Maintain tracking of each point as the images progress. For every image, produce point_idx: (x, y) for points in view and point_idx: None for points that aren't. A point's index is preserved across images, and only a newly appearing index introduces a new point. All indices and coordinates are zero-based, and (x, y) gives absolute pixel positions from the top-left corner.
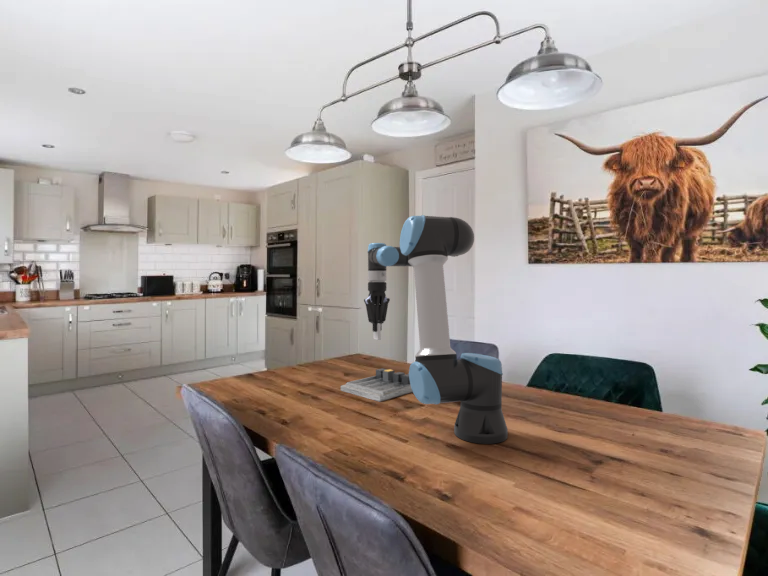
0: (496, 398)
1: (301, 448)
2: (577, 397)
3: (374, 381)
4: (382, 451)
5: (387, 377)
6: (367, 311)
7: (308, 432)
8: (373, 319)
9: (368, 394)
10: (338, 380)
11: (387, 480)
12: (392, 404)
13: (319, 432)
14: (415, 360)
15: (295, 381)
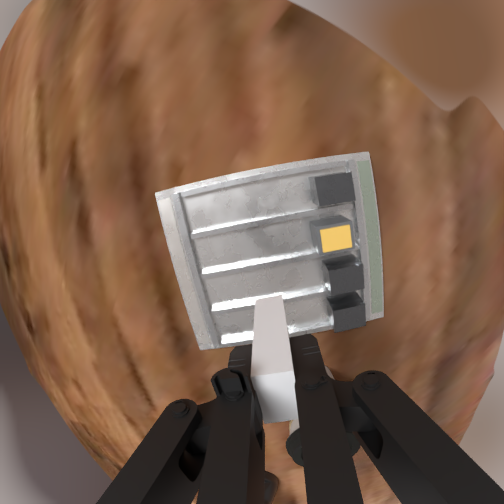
0: None
1: (51, 400)
2: (464, 431)
3: (271, 222)
4: (123, 451)
5: (315, 247)
6: (110, 497)
7: (55, 376)
8: (195, 461)
9: (188, 312)
10: (219, 70)
11: (113, 469)
12: (218, 370)
13: (67, 385)
14: (298, 442)
15: (111, 38)
